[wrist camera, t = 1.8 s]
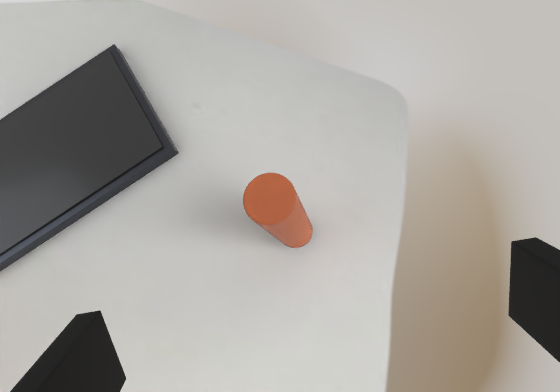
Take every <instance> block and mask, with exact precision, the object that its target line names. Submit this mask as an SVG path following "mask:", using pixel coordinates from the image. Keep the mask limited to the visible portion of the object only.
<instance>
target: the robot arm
mask: <svg viewBox="0 0 560 392" xmlns="http://www.w3.org/2000/svg"><path fill="white" fill-rule="evenodd" d="M509 316H510V317H511V318H512V319H513V320H514V321H515V322H516V323H517V324H518V325H520V326H521V327H522V328H523V329H524V330H525V331H526V332H527V333H528V334H529V335H530V336H532V338H534V339H535V340H536V341H537V342H538V343H539V344H540V345H541V346H542V347H543V348H545V349H546V350H547V351H548V352H549V353H550V354H551V355H552V356H553V357H554V358H555V359H557V360H558V361H559V362H560V250H558V249H557V248H555V247H553V246H551V245H549V244H547V243H545V242H543V241H542V240H539V239H538V238H530V239H524V240H518V241H512V243H511V267H510V292H509ZM125 380H126V377H125V374H124V371H123V369H122V366H121V363H120V361H119V358H118V356H117V353H116V350H115V348H114V345H113V343H112V340H111V337H110V335H109V332H108V330H107V327H106V324H105V322H104V319H103V316H102V314H101V311H95V312H89V313H83V314H77V315H76V316H75V317H74V318H73V319H72V321H71V322H70V323H69V324H68V325H67V326H66V327H65V329H64V330H63V331H62V332H61V333H60V334H59V336H58V337H57V338H56V339H55V340H54V341H53V343H52V344H51V345H50V346H49V347H48V348H47V350H46V351H45V352H44V353H43V354H42V355H41V356H40V358H39V359H38V360H37V361H36V362H35V363H34V365H33V366H32V367H31V368H30V369H29V370H28V372H27V373H26V374H25V375H24V376H23V377H22V379H21V380H20V381H19V382H18V383H17V384H16V385H15V387H14V388H13V389H12V390H11V391H10V392H120V390H121V388H122V386H123V384H124V382H125Z"/></svg>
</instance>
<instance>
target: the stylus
mask: <svg viewBox="0 0 560 392" xmlns="http://www.w3.org/2000/svg"><path fill="white" fill-rule="evenodd" d="M243 205H244V209H245V211H246V213H247V215H248V216H249V217H250V218H251V219H252V220H253V221H255V222H256V223H257V224H259V225H260V226H261V227H263V228H264V229H265V230H267V231H268V232H269V233H271V234H272V235H273V236H275V237H276V238H277V239H279V240H280V241H281V242H283V243H284V244H285V245H287V246H289V247H292V248H299V247H302V246H304V245H305V244H307V243H308V242H309V240H310V239H311V236H312V225H311V223H310V221H309V218H308V216H307V214H306V212H305V210H304V208H303V206H302V204H301V201H300V199H299V197H298V195H297V193H296V191H295V189H294V187H293V185H292V183H291V182H290V181H289V180H288V179H287V178H286V177H284V176H282V175H280V174H276V173H265V174H262V175H259V176H257V177H256V178H254V179H253V180H252V181H251V182H250V183H249V184H248V186H247V187H246V190H245V192H244V196H243Z"/></svg>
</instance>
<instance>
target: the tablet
mask: <svg viewBox="0 0 560 392" xmlns="http://www.w3.org/2000/svg"><path fill="white" fill-rule="evenodd" d="M176 154H178V151H177V149H176V147H175V146H174V144H173V142H172V140H171V139H170V137H169V135H168V133H167V132H166V130H165V128H164V126H163V125H162V123H161V121H160V119H159V118H158V116H157V114H156V112H155V111H154V109H153V107H152V105H151V104H150V102H149V100H148V98H147V97H146V95H145V93H144V91H143V90H142V88H141V86H140V84H139V83H138V81H137V79H136V77H135V76H134V74H133V72H132V70H131V69H130V67H129V65H128V63H127V62H126V60H125V58H124V56H123V55H122V53H121V51H120V50H119V49H118V48H117V47H116V46H115V45H112V46H111V47H109V48H108V49H106V50H105V51H103V52H102V53H100V54H99V55H97V56H95V57H94V58H92V59H91V60H89V61H88V62H86V63H85V64H83V65H82V66H80V67H79V68H77V69H76V70H74V71H73V72H71V73H70V74H68V75H67V76H65V77H64V78H62V79H61V80H59V81H58V82H56V83H55V84H53V85H52V86H50V87H49V88H47V89H46V90H44V91H43V92H41V93H40V94H38V95H37V96H35V97H34V98H32V99H31V100H29V101H28V102H26V103H25V104H23V105H22V106H20V107H19V108H17V109H16V110H14V111H13V112H11V113H10V114H8V115H7V116H5V117H4V118H2V119H1V120H0V271H1V270H3V269H4V268H6V267H7V266H9V265H10V264H12V263H13V262H15V261H16V260H18V259H19V258H21V257H22V256H24V255H25V254H27V253H28V252H30V251H31V250H33V249H34V248H36V247H38V246H39V245H41V244H42V243H44V242H45V241H47V240H48V239H50V238H51V237H53V236H54V235H56V234H57V233H59V232H60V231H62V230H63V229H65V228H66V227H68V226H69V225H71V224H72V223H74V222H75V221H77V220H78V219H80V218H81V217H83V216H84V215H86V214H87V213H89V212H90V211H92V210H93V209H95V208H96V207H98V206H99V205H101V204H102V203H104V202H105V201H107V200H108V199H110V198H112V197H113V196H115V195H116V194H118V193H119V192H121V191H122V190H124V189H125V188H127V187H128V186H130V185H131V184H133V183H134V182H136V181H137V180H139V179H140V178H142V177H143V176H145V175H146V174H148V173H149V172H151V171H152V170H154V169H155V168H157V167H158V166H160V165H161V164H163V163H164V162H166V161H167V160H169V159H170V158H172V157H173V156H175V155H176Z"/></svg>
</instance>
